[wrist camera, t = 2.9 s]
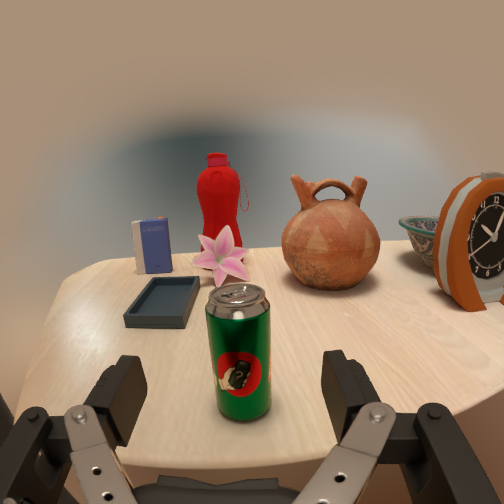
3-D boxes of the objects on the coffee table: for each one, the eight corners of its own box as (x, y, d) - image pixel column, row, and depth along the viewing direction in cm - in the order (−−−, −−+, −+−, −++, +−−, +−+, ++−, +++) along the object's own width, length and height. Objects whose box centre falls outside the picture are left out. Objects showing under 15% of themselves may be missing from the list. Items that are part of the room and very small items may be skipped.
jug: (294, 304, 48) (293, 176, 43) (274, 268, 66) (272, 173, 60) (393, 292, 50) (401, 177, 44) (353, 262, 67) (356, 173, 62)
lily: (183, 293, 57) (193, 255, 51) (188, 254, 66) (198, 218, 60) (243, 305, 60) (260, 269, 54) (241, 265, 69) (255, 231, 63)
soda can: (281, 409, 26) (283, 294, 23) (235, 431, 23) (223, 314, 20) (251, 383, 30) (246, 276, 27) (209, 401, 27) (193, 290, 24)
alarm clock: (450, 314, 40) (467, 166, 33) (425, 291, 49) (435, 164, 43) (532, 301, 38) (549, 181, 32) (505, 283, 47) (517, 176, 41)
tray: (184, 328, 42) (182, 315, 41) (125, 327, 42) (122, 315, 41) (200, 286, 57) (199, 276, 57) (154, 287, 57) (152, 277, 57)
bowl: (454, 249, 74) (458, 216, 71) (508, 278, 50) (515, 236, 47) (381, 251, 75) (383, 215, 72) (426, 287, 50) (432, 238, 48)
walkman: (172, 268, 68) (167, 216, 65) (171, 272, 66) (165, 218, 62) (140, 270, 68) (133, 219, 64) (137, 274, 65) (130, 221, 62)
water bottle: (251, 269, 66) (246, 150, 59) (200, 271, 65) (192, 153, 59) (250, 257, 75) (246, 152, 68) (205, 259, 74) (198, 155, 68)
